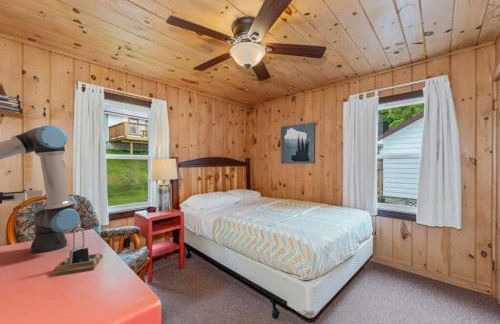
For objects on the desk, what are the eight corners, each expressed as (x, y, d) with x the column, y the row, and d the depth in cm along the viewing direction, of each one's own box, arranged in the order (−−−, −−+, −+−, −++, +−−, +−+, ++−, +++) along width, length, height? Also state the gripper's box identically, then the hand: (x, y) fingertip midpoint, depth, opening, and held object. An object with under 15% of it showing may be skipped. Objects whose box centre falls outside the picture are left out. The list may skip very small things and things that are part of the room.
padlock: (86, 258, 103) (86, 225, 103) (90, 261, 100) (89, 226, 101) (68, 264, 98) (67, 228, 98) (71, 266, 95) (70, 230, 96)
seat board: (66, 262, 104) (66, 256, 104) (102, 256, 109) (102, 251, 109) (51, 276, 90) (51, 269, 90) (93, 269, 95) (93, 263, 95)
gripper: (-13, 204, 99) (49, 200, 106) (-67, 215, 75) (17, 208, 83) (-13, 187, 99) (49, 183, 106) (-67, 192, 75) (17, 187, 83)
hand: (35, 194), depth 95 cm, fingers open, 13 cm apart
